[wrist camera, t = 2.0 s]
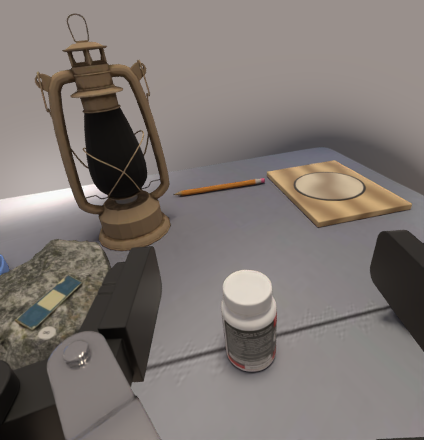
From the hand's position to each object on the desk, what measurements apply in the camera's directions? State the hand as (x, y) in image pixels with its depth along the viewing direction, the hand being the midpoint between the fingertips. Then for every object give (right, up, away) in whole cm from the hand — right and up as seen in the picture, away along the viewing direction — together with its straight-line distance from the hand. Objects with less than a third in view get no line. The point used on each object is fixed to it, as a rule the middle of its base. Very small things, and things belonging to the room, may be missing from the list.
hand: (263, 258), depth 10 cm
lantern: (-15, 0, +38) cm, 41 cm away
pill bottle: (+2, -11, +17) cm, 21 cm away
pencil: (0, +8, +48) cm, 49 cm away
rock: (-18, -11, +21) cm, 30 cm away
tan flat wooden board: (+20, +7, +44) cm, 49 cm away
